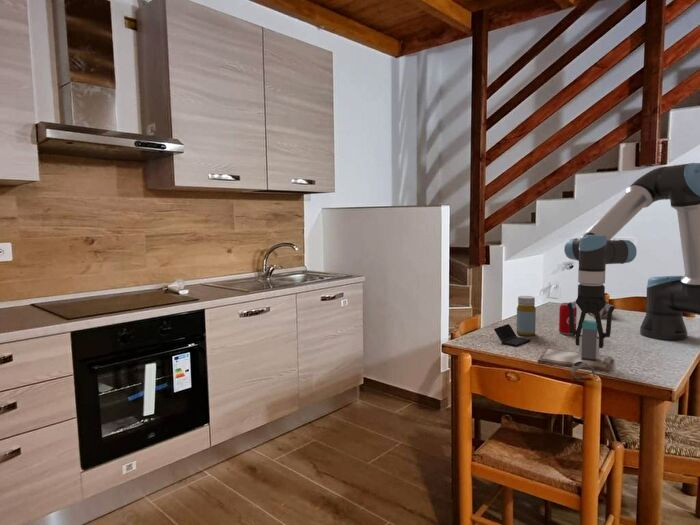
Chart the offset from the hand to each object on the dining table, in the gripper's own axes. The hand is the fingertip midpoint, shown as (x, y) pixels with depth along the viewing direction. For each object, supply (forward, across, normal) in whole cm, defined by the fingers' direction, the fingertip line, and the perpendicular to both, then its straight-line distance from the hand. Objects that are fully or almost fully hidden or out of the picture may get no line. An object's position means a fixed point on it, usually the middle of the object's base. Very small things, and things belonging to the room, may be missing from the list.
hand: (588, 356), depth 147 cm
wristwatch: (+2, 0, +17) cm, 17 cm away
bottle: (+2, +25, -28) cm, 38 cm away
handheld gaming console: (+2, +27, -14) cm, 30 cm away
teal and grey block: (+1, 0, 0) cm, 1 cm away
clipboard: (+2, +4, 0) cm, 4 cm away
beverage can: (+2, +11, -37) cm, 39 cm away
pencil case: (+2, +6, -83) cm, 83 cm away
